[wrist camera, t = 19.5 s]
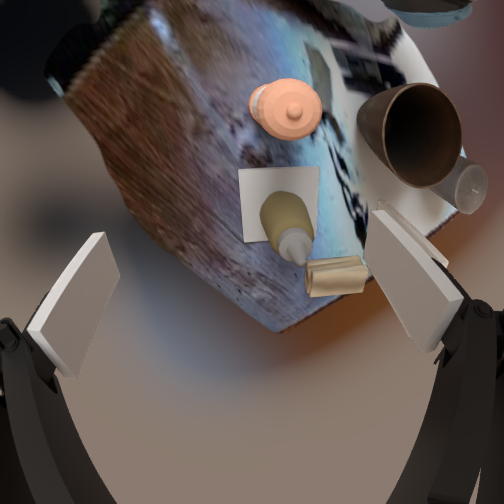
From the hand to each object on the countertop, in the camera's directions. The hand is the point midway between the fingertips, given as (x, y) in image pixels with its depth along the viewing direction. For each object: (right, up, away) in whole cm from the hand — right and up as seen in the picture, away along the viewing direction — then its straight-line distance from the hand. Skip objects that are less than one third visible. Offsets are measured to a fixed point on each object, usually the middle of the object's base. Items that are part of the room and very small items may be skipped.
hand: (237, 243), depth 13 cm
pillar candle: (+38, +18, +33) cm, 53 cm away
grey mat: (+6, +8, +36) cm, 38 cm away
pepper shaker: (+4, +24, +27) cm, 36 cm away
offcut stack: (+18, -4, +45) cm, 49 cm away
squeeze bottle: (+6, +8, +36) cm, 37 cm away
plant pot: (+23, +23, +28) cm, 43 cm away
